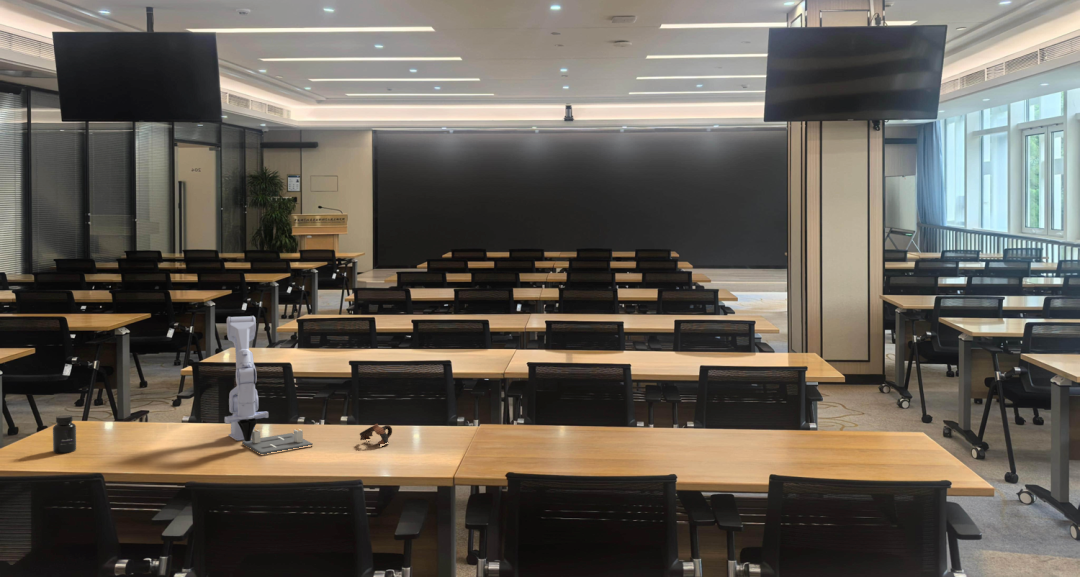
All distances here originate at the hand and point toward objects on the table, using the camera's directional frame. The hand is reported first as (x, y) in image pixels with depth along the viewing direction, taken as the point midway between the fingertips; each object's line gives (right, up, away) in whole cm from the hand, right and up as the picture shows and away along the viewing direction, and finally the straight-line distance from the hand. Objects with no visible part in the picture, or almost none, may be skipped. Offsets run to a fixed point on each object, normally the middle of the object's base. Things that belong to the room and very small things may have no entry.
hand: (247, 440), depth 284 cm
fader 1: (+2, -1, +2) cm, 3 cm away
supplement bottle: (-60, -3, -6) cm, 60 cm away
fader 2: (+17, -1, +4) cm, 17 cm away
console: (+10, -2, +3) cm, 10 cm away
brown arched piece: (+44, -3, +6) cm, 44 cm away
